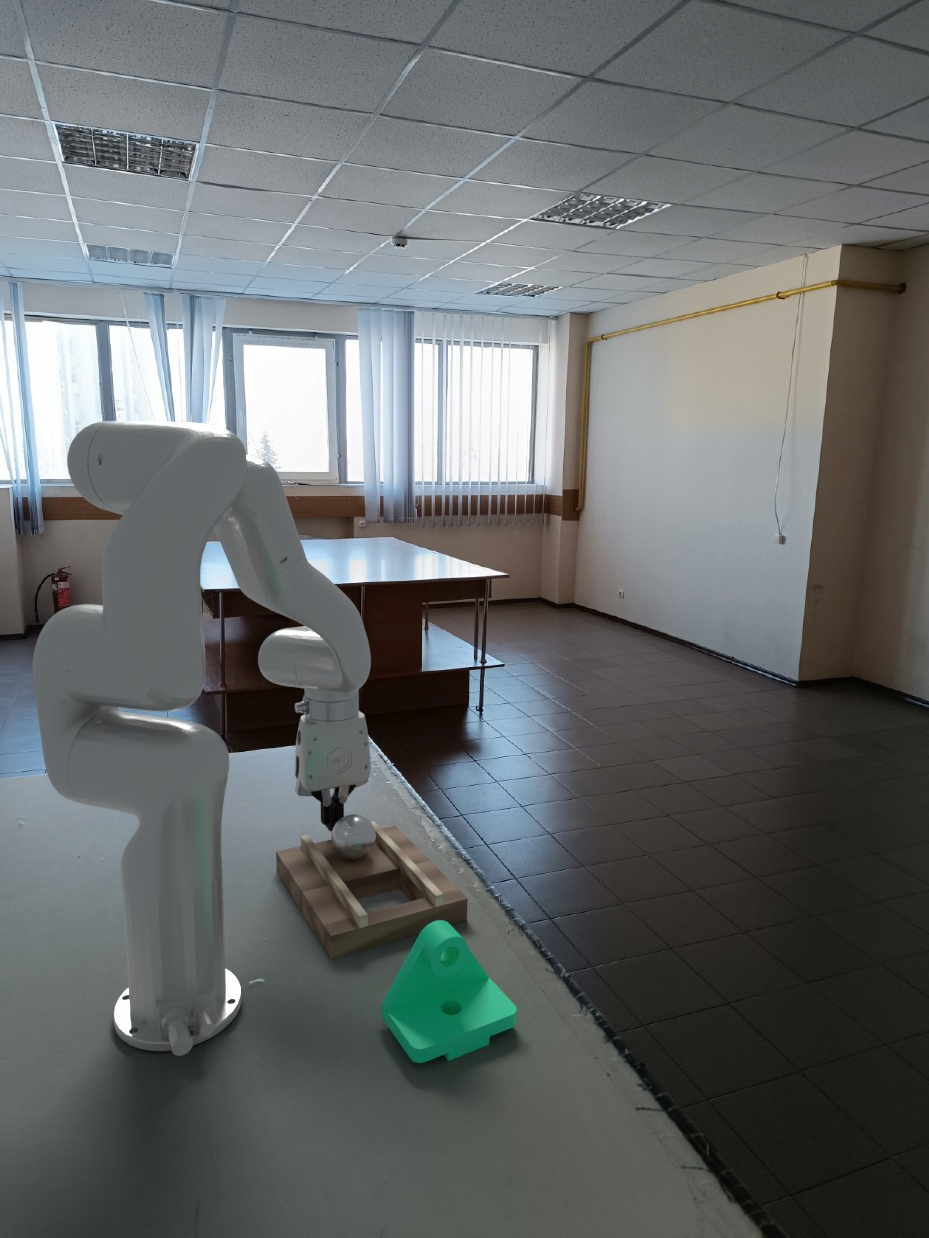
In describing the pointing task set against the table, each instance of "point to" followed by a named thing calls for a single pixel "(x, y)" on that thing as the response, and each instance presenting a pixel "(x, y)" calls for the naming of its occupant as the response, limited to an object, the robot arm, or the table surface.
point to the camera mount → (444, 999)
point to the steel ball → (353, 836)
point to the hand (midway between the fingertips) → (332, 826)
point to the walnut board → (367, 891)
